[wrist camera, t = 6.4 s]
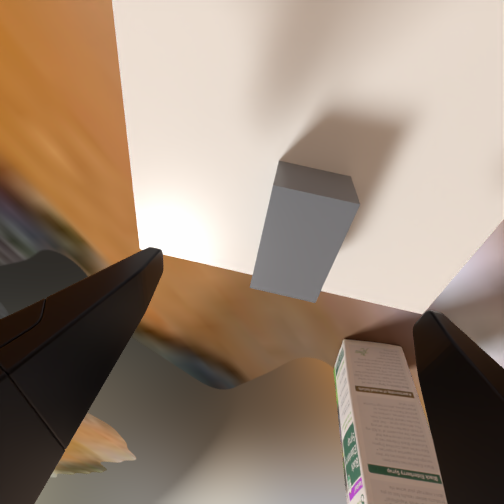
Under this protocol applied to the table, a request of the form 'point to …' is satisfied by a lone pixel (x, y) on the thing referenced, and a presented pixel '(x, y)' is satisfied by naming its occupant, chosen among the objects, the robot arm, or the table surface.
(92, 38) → the table surface
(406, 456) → the syrup box
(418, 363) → the robot arm
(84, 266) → the table surface
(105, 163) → the table surface
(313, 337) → the table surface
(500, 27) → the carton lid
